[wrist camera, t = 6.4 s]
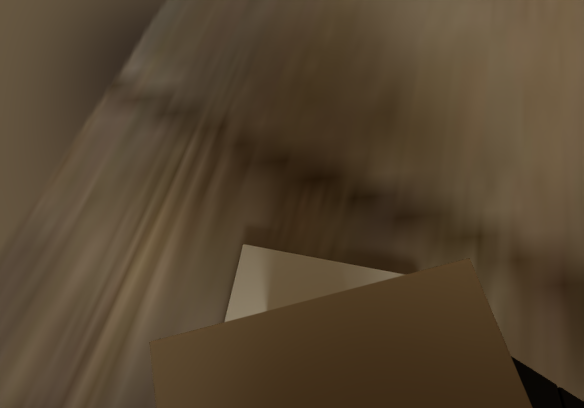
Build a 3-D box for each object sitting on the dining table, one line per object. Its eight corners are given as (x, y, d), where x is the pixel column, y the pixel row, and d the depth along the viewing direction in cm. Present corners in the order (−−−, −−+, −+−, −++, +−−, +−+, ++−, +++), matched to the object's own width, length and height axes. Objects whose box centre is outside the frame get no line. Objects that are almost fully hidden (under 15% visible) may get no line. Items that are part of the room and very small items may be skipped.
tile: (420, 280, 18) (427, 278, 17) (406, 471, 15) (413, 482, 14) (246, 247, 19) (243, 244, 18) (204, 421, 16) (198, 428, 15)
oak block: (377, 387, 15) (662, 715, 3) (286, 412, 15) (202, 860, 3) (349, 293, 17) (469, 257, 4) (266, 315, 17) (149, 341, 4)
